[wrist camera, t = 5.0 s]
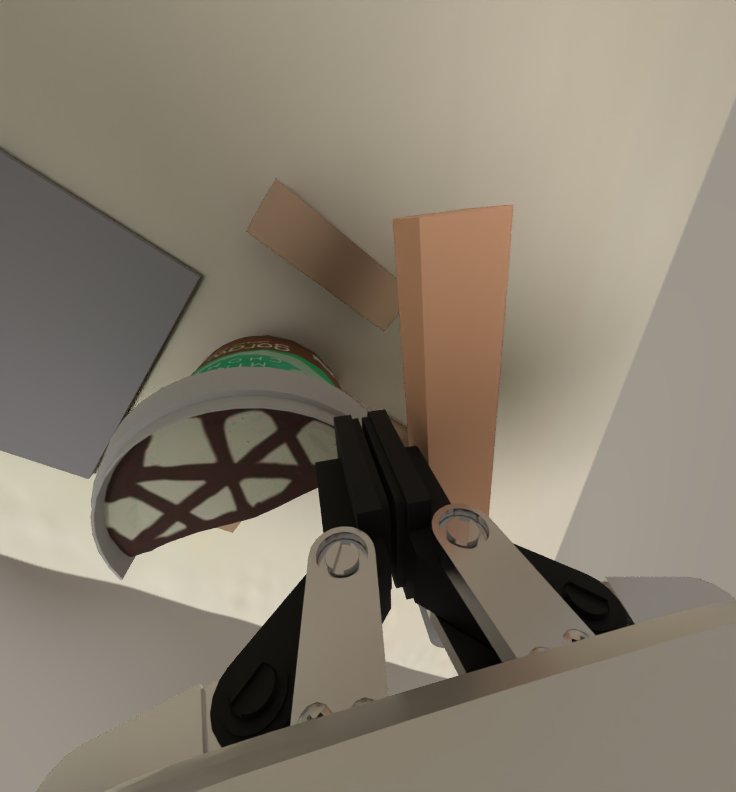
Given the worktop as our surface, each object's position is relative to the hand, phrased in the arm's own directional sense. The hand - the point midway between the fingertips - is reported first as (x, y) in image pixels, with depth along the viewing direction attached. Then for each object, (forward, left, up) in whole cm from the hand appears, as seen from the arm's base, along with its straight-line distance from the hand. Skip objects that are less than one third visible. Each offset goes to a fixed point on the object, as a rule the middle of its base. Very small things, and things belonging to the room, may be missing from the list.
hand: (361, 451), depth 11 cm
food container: (-3, -4, -12) cm, 13 cm away
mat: (-13, -8, -11) cm, 19 cm away
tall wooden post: (+3, +1, -1) cm, 3 cm away
